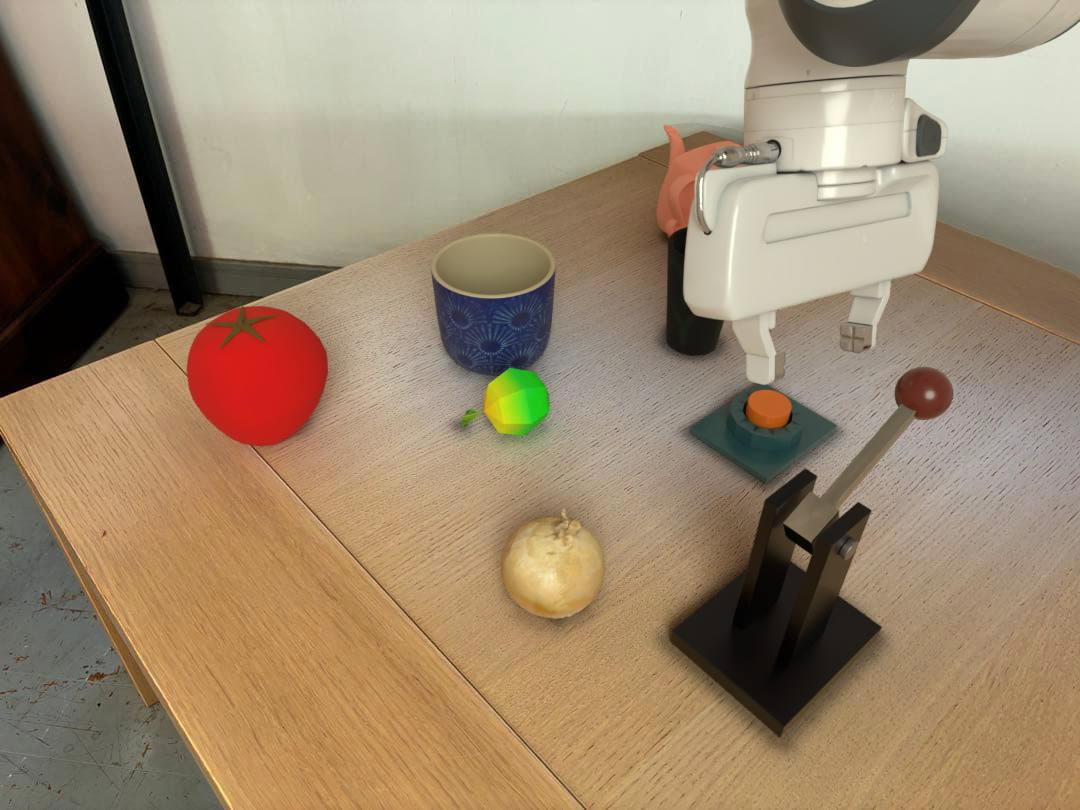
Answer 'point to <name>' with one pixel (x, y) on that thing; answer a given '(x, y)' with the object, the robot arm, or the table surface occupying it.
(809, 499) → the lever
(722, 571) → the table surface
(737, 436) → the button box
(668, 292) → the cup
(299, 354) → the tomato
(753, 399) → the button
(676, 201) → the teapot
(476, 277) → the planter
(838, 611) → the bracket
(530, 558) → the onion
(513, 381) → the apple
